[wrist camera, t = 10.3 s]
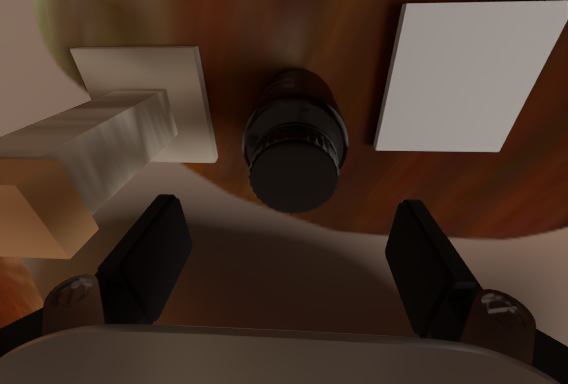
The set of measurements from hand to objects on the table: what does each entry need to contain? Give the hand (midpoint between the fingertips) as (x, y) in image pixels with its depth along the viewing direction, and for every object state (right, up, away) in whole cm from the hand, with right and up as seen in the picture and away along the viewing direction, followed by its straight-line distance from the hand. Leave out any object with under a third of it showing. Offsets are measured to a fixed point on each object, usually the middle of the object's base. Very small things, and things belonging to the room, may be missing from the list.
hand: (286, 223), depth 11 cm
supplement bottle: (+1, +9, +12) cm, 15 cm away
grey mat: (+14, +10, +10) cm, 20 cm away
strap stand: (-12, +9, +13) cm, 20 cm away
